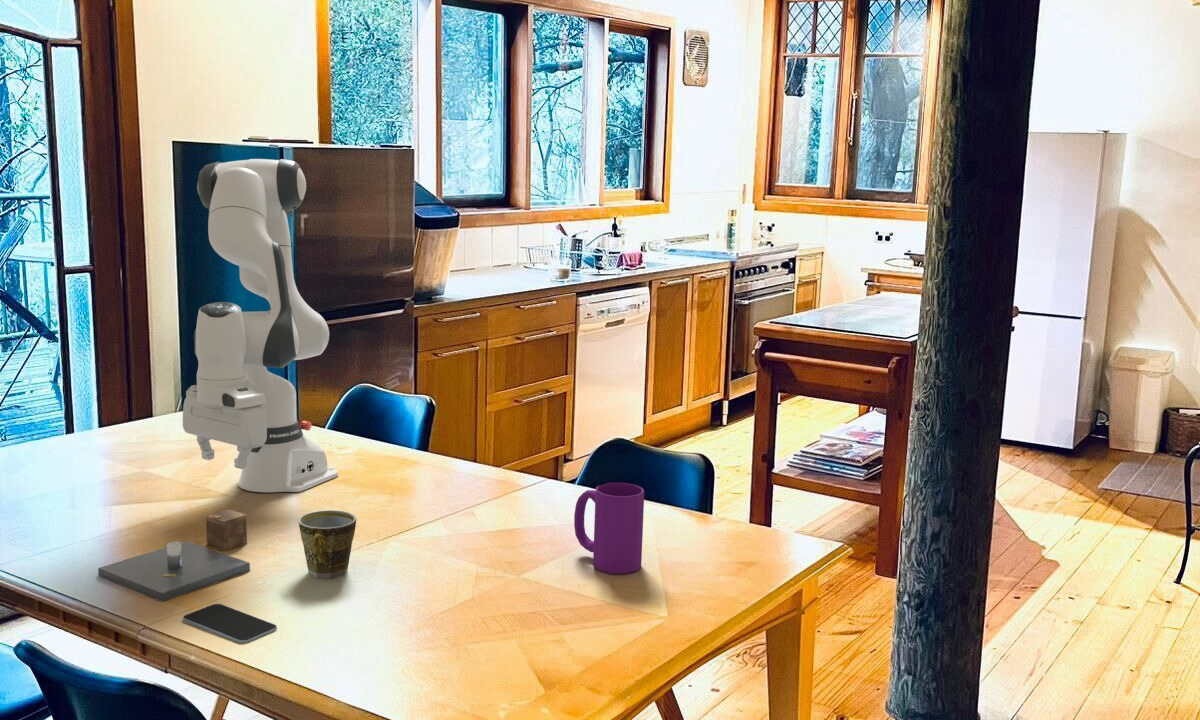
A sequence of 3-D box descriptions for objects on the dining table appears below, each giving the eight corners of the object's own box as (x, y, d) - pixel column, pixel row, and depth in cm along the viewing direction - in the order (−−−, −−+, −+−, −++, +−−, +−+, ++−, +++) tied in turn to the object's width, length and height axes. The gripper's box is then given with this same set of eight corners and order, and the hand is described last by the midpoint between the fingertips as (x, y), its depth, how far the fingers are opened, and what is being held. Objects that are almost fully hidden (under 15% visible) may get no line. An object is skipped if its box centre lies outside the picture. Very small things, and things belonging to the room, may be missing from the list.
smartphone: (242, 642, 176) (179, 617, 184) (242, 647, 176) (179, 622, 184) (280, 626, 182) (217, 602, 190) (280, 631, 182) (217, 607, 190)
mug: (618, 579, 207) (621, 500, 204) (557, 557, 217) (559, 480, 215) (651, 567, 214) (655, 489, 211) (590, 545, 224) (593, 471, 221)
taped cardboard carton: (229, 538, 222) (228, 507, 220) (247, 543, 219) (246, 513, 218) (206, 545, 217) (205, 514, 216) (224, 551, 214) (223, 520, 213)
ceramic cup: (308, 560, 211) (307, 508, 209) (362, 563, 211) (362, 511, 209) (287, 587, 198) (286, 532, 196) (344, 590, 198) (344, 535, 196)
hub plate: (186, 548, 215) (185, 520, 214) (249, 570, 205) (249, 541, 204) (98, 576, 201) (97, 546, 200) (162, 601, 191) (160, 570, 190)
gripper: (172, 386, 215) (175, 457, 218) (244, 401, 204) (245, 476, 207) (201, 381, 221) (203, 450, 223) (272, 396, 209) (273, 469, 212)
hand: (224, 463), depth 215 cm, fingers open, 8 cm apart
